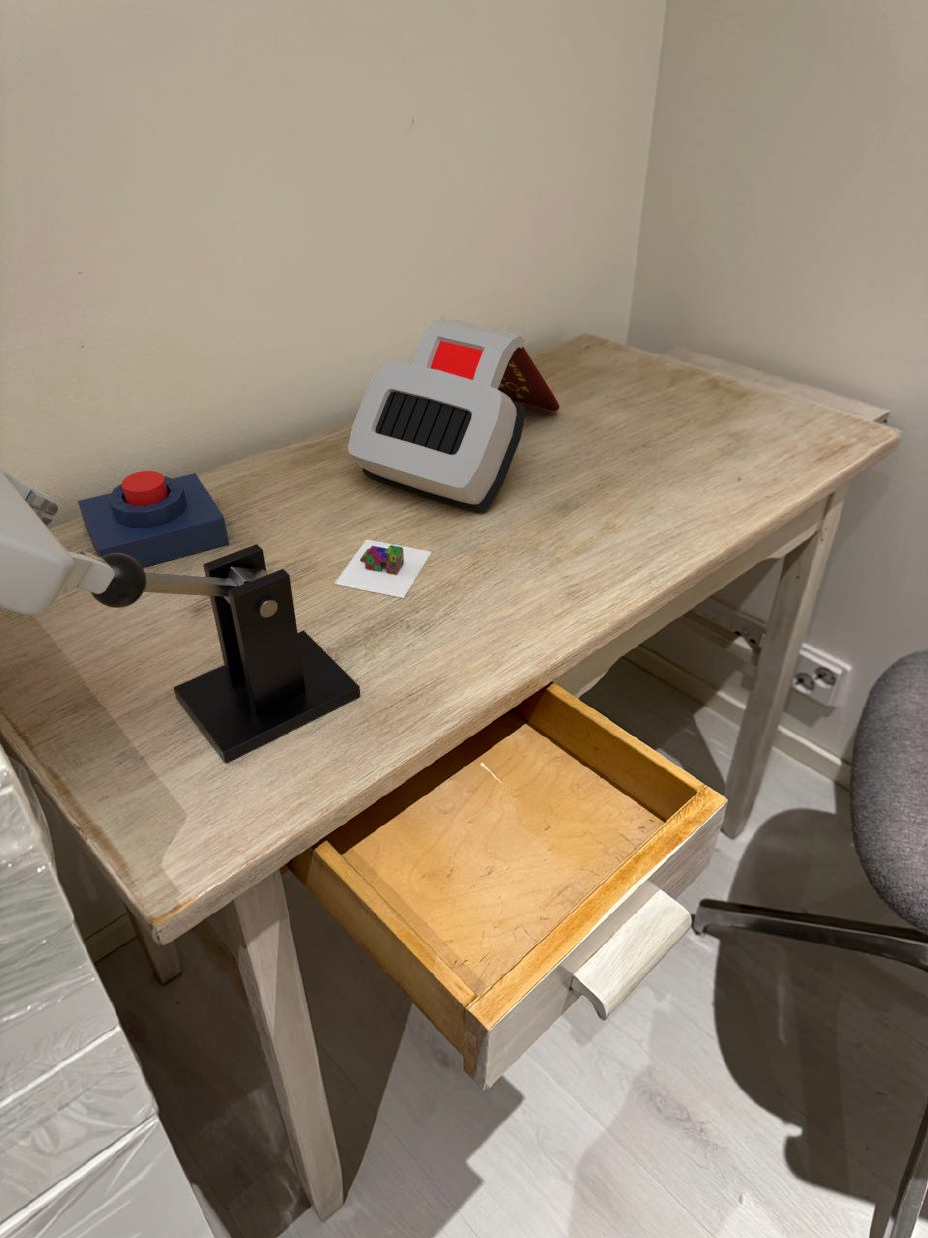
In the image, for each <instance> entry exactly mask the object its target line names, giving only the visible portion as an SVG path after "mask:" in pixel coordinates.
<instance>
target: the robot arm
mask: <svg viewBox="0 0 928 1238" xmlns="http://www.w3.org/2000/svg"><path fill="white" fill-rule="evenodd" d="M58 511H59V508H58V505H57V503H56V502H55V501H54V499H53V498H52V497H51V495H49V494H48V493H46V492H43V491H41V490H39V489H36V488H34V487H32V486H30V485H28V484H26V483H25V482H23V481H22V480H21V479H19V478H18V477H16V476H14V475H13V474H11V473H10V472H7V470H6V469H5V470H4V469H3V468H2V467H0V608H2V609H4V610H8V611H11V612H14V613H16V614H20V615H25V616H38V615H39V616H40V615H44V614H46V613H47V612H49V611H50V610H51V608H52V607H53V605H54V604H55V602H56V601H57V600H58V598H59V597H60V595H61V594H62V592H63V590H64V589H74V588H77V589H80V590H83V591H87V592H89V593H91V592H92V593H95V594H100V593H102V592H104V591H105V590H106V589H107V587H108V586H109V584H110V582H111V581H112V579H113V578H114V575H115V573H114V570H113V569H112V568H111V567H110V565H109V564H108V563H107V562H106V561H105V560H104V559H103V558H101V557H98V556H97V555H95V554H93V553H90V552H88V551H86V550H83V549H82V550H81V552H80V553H77V552H74V551H73V552H72V551H69V550H67V548H66V547H65V546H63V545H62V544H61V542H60V541H59V540H58V538H57V537H56V536H55V535H54V534H53V533H52V531H51V530H50V529H49V528H48V525H50V524H51V522H52V521H53V519H54V516H55V515H57V512H58Z"/></svg>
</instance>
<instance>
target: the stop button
mask: <svg viewBox="0 0 928 1238" xmlns="http://www.w3.org/2000/svg"><path fill="white" fill-rule="evenodd" d="M164 476H165V475H164V474H162V473H161V472H159V471H156V470H141V471H137V472H132V473H130V474H128V475H127V476H126V477H123V480H122V481H121V484H122V488H123V492H124V495H125V499H126V502H127V503H128V504H130V505H133V506H147V505H151V504H155V503H158V502H160V501H162V500H163V499H165V498H166V497H167V495H168V492H167V487H166V483H165V478H164Z"/></svg>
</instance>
